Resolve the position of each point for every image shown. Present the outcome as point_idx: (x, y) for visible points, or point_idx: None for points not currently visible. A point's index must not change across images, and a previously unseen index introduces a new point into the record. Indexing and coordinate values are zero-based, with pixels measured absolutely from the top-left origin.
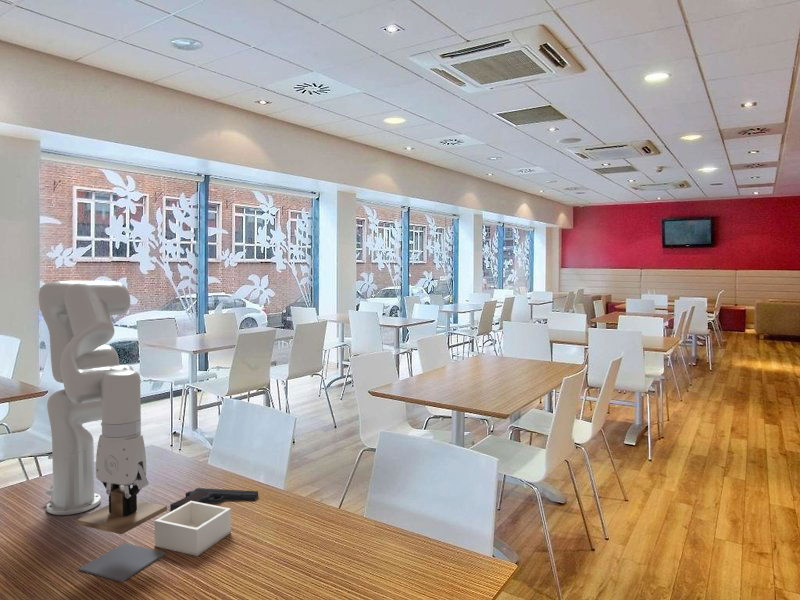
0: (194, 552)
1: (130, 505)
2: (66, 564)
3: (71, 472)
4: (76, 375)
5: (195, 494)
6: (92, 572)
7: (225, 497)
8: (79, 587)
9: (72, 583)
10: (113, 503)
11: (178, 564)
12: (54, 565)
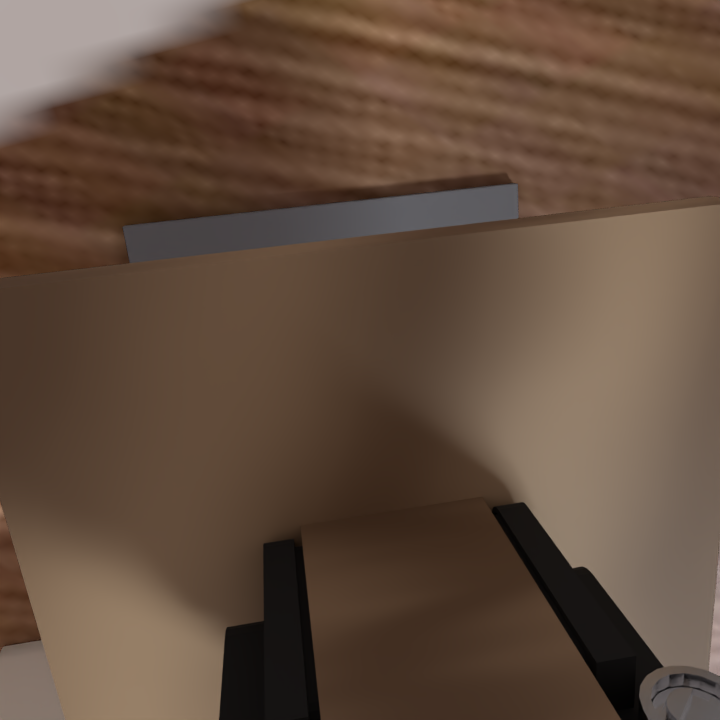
0: (16, 656)
1: (222, 680)
2: (645, 192)
3: None
4: None
5: None
6: (392, 196)
7: None
8: (318, 40)
9: (406, 52)
10: (487, 591)
11: None
12: (705, 146)
